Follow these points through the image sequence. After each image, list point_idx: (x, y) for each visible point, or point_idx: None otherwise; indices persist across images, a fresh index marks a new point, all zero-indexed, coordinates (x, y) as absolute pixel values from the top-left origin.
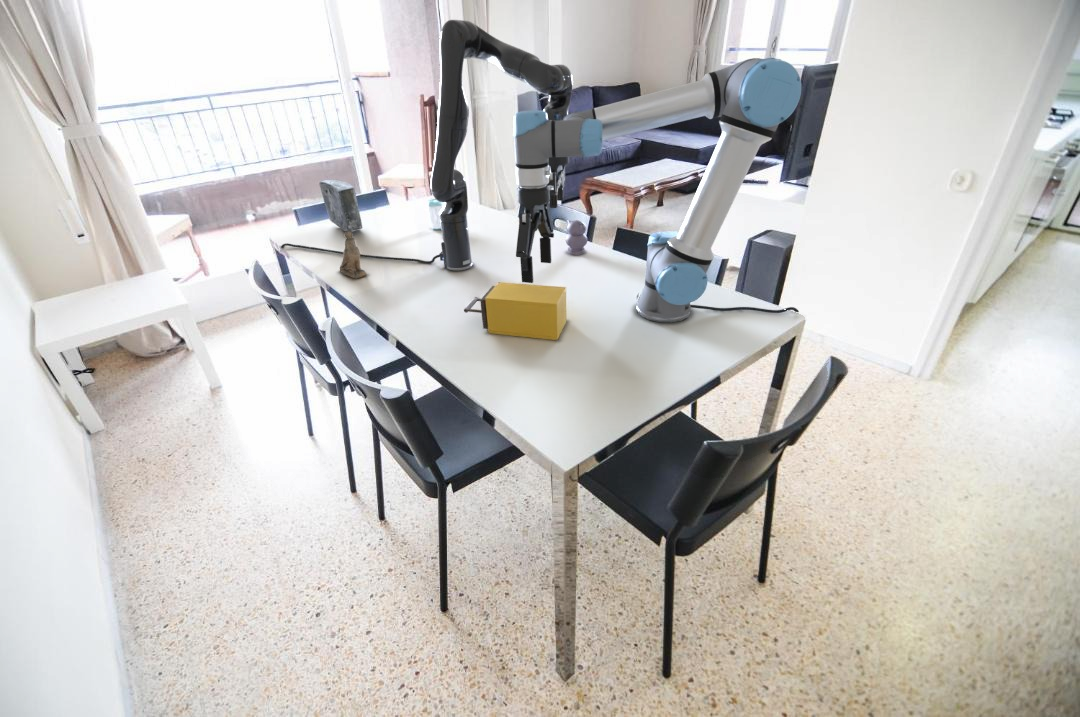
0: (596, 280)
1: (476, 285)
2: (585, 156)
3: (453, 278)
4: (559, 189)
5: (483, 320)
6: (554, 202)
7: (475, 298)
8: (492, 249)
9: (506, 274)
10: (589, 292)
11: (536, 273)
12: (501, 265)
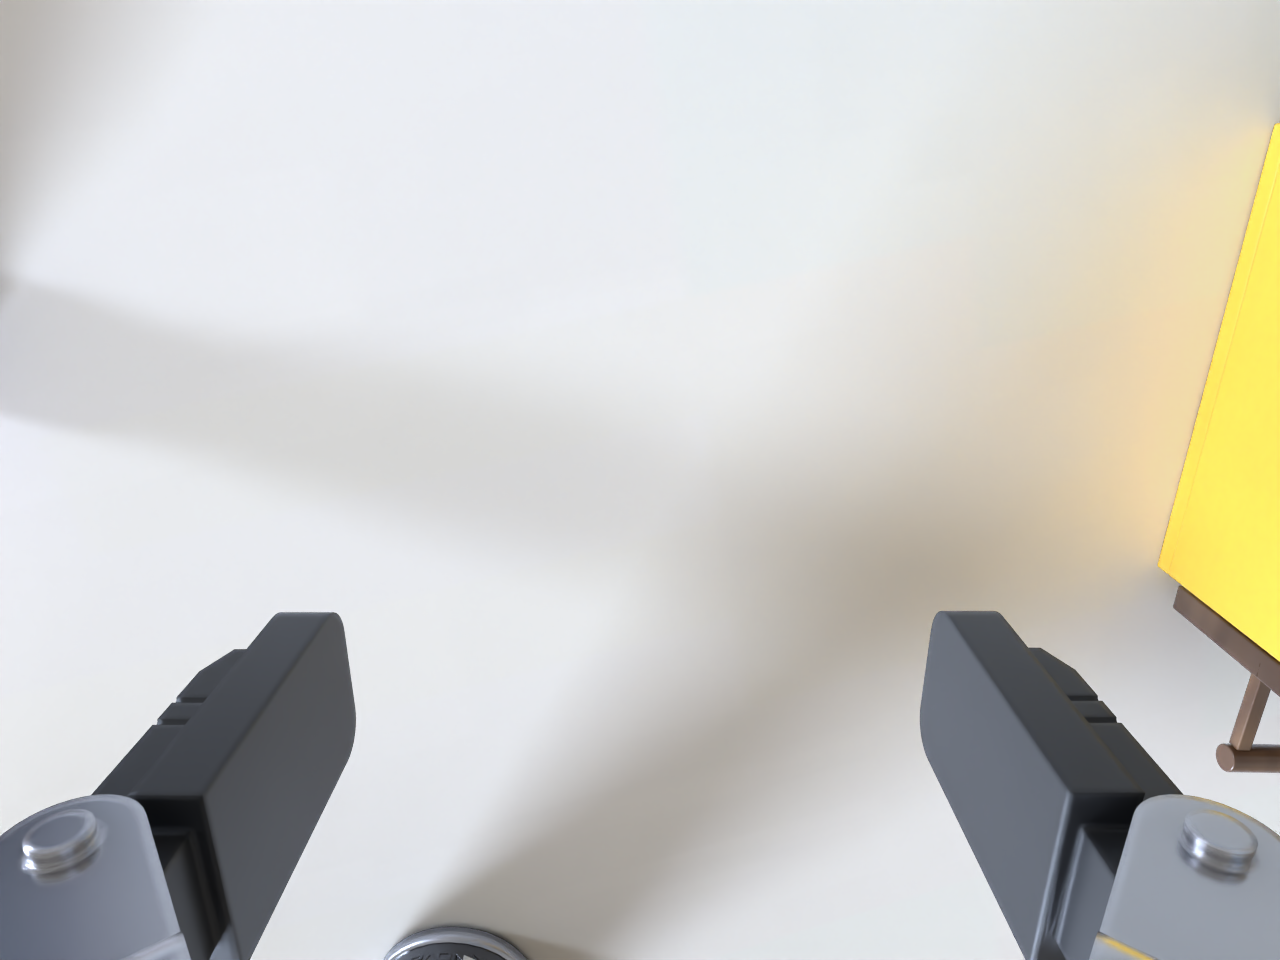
0: (478, 12)
1: (723, 818)
2: None
3: (641, 955)
4: (241, 853)
5: None
6: (1108, 716)
7: (1257, 763)
8: None
9: (515, 708)
10: (740, 33)
11: (449, 527)
12: (369, 778)
